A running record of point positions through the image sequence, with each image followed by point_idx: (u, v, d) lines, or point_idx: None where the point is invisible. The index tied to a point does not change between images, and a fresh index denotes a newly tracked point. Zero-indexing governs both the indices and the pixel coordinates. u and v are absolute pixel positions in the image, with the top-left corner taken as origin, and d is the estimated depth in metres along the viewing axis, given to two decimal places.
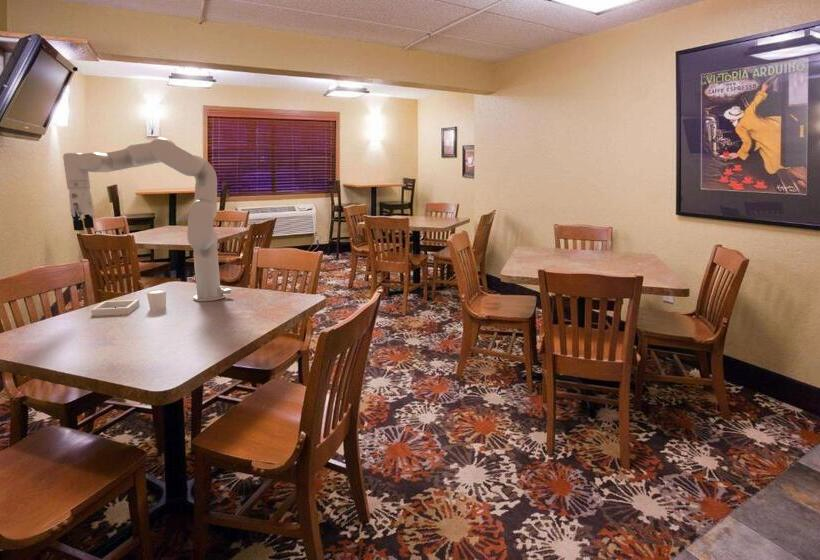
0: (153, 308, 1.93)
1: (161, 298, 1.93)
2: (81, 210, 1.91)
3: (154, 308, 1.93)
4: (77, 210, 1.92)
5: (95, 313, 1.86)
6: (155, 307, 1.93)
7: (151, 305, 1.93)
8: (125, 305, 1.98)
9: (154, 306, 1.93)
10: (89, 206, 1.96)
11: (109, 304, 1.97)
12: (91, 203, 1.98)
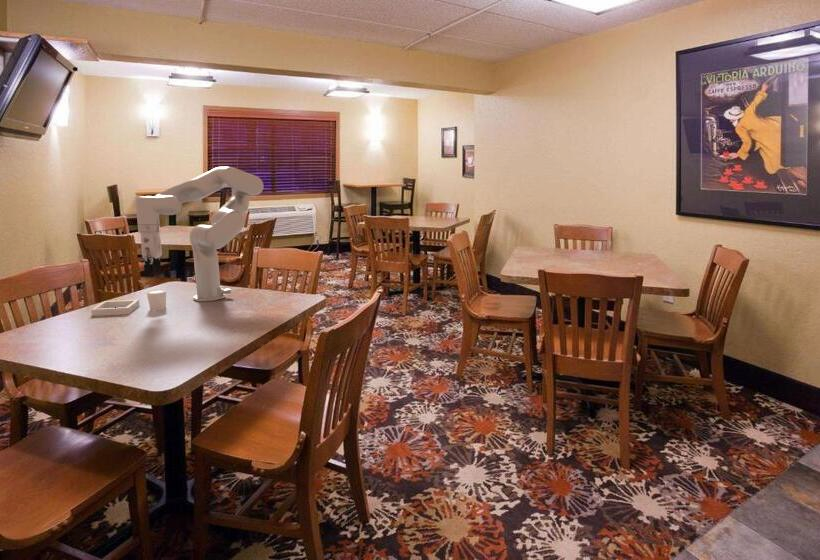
0: (153, 308, 1.93)
1: (161, 298, 1.93)
2: (152, 254, 1.87)
3: (154, 308, 1.93)
4: (148, 254, 1.88)
5: (95, 313, 1.86)
6: (155, 307, 1.93)
7: (151, 305, 1.93)
8: (125, 305, 1.98)
9: (154, 306, 1.93)
10: (159, 249, 1.92)
11: (109, 304, 1.97)
12: (160, 246, 1.94)
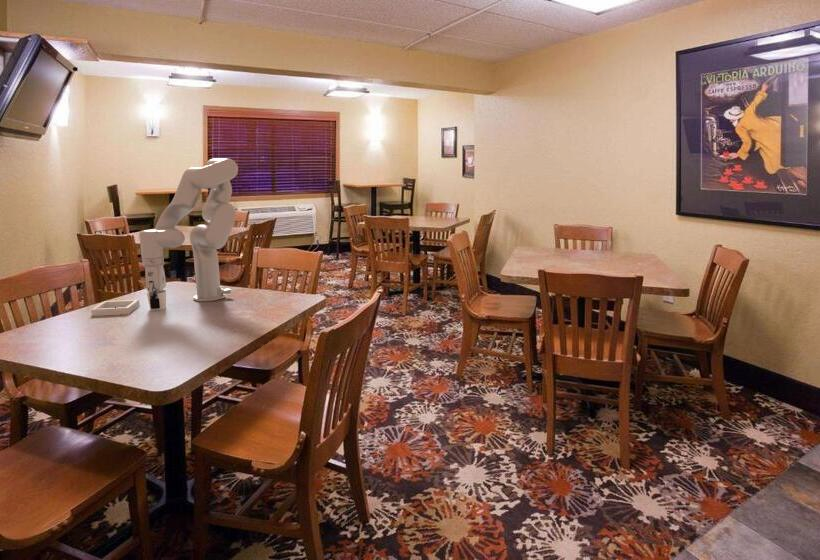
0: None
1: (161, 298, 1.93)
2: (157, 287, 1.90)
3: None
4: None
5: (95, 313, 1.86)
6: None
7: None
8: (125, 305, 1.98)
9: None
10: (163, 281, 1.95)
11: (109, 304, 1.97)
12: (164, 278, 1.97)
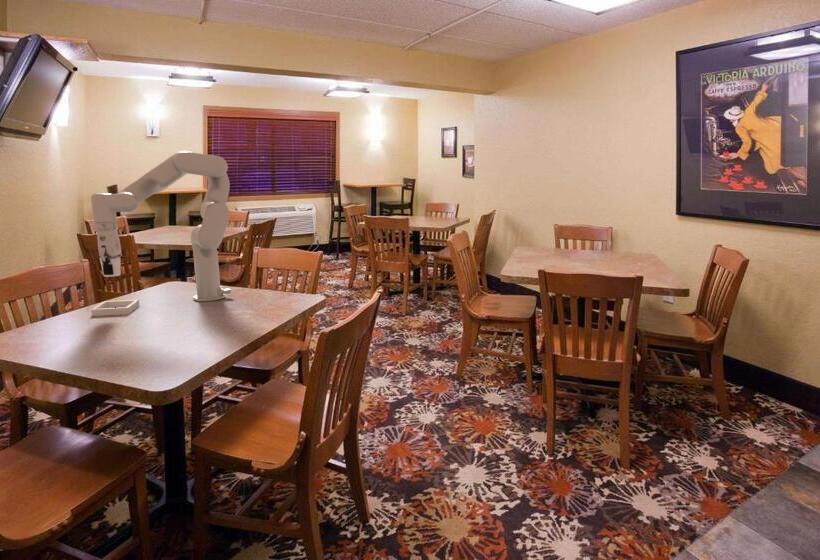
0: None
1: (115, 264, 1.87)
2: (109, 252, 1.84)
3: None
4: None
5: (95, 313, 1.86)
6: None
7: None
8: (125, 305, 1.98)
9: None
10: (117, 247, 1.89)
11: (109, 304, 1.97)
12: (119, 244, 1.91)
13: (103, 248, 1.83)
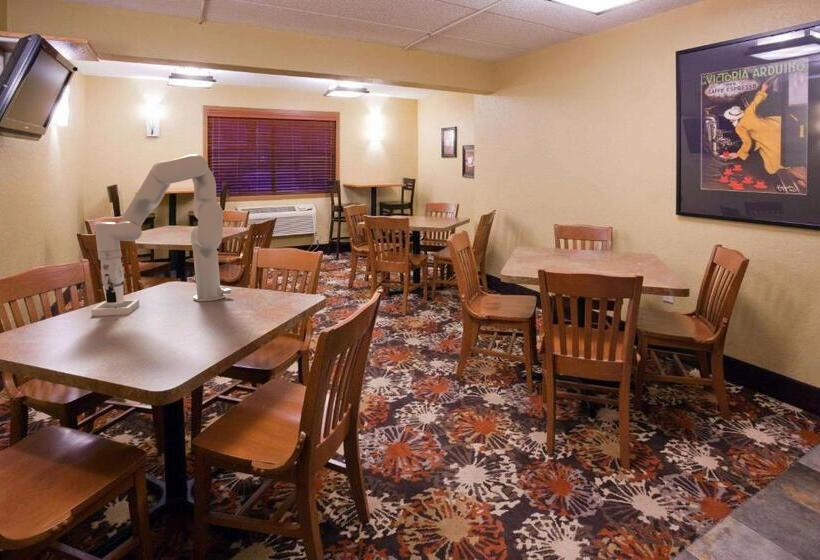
0: None
1: (118, 292, 1.90)
2: (113, 281, 1.86)
3: None
4: (108, 280, 1.87)
5: (95, 313, 1.86)
6: None
7: None
8: (125, 305, 1.98)
9: None
10: (120, 275, 1.91)
11: (109, 304, 1.97)
12: (122, 271, 1.93)
13: (106, 277, 1.85)
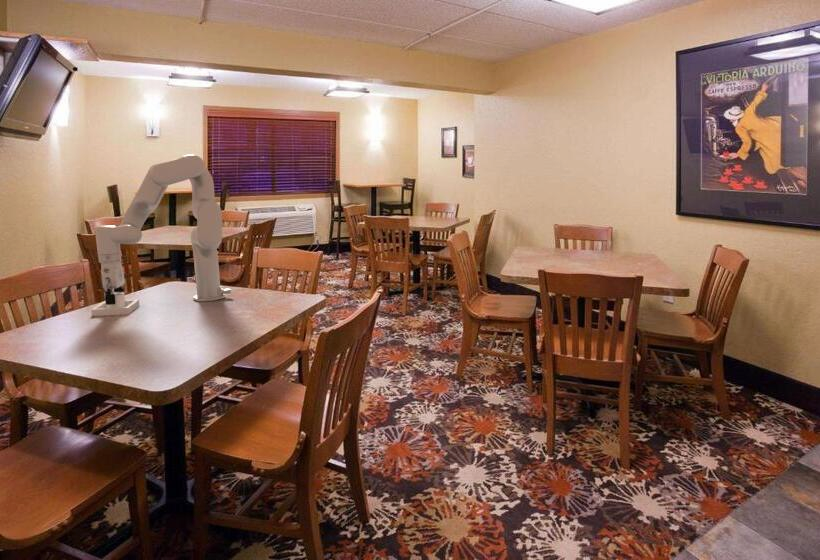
0: None
1: (119, 300, 1.90)
2: (113, 284, 1.86)
3: None
4: (109, 284, 1.87)
5: (95, 313, 1.86)
6: None
7: (109, 307, 1.89)
8: (125, 305, 1.98)
9: None
10: (120, 278, 1.91)
11: None
12: (122, 274, 1.93)
13: None
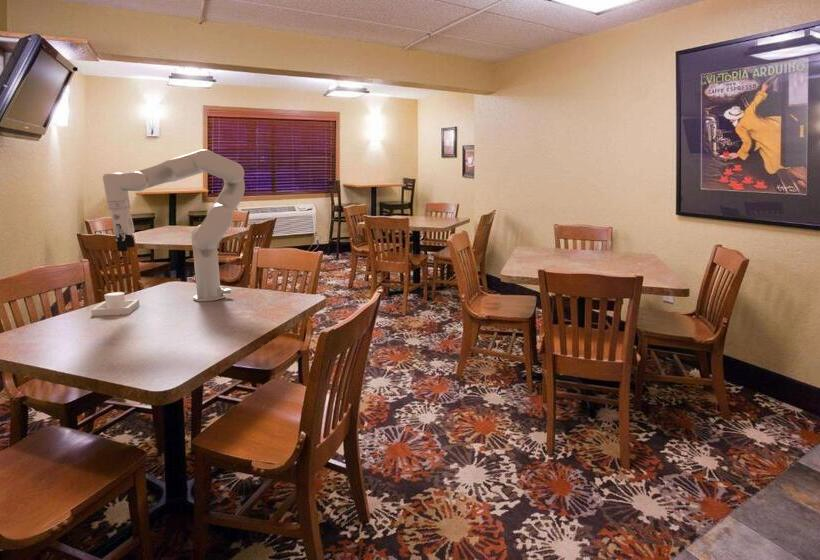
0: None
1: (119, 300, 1.90)
2: (124, 231, 1.89)
3: None
4: (120, 231, 1.90)
5: (95, 313, 1.86)
6: None
7: (109, 307, 1.89)
8: (125, 305, 1.98)
9: None
10: (130, 226, 1.94)
11: None
12: (132, 222, 1.96)
13: None
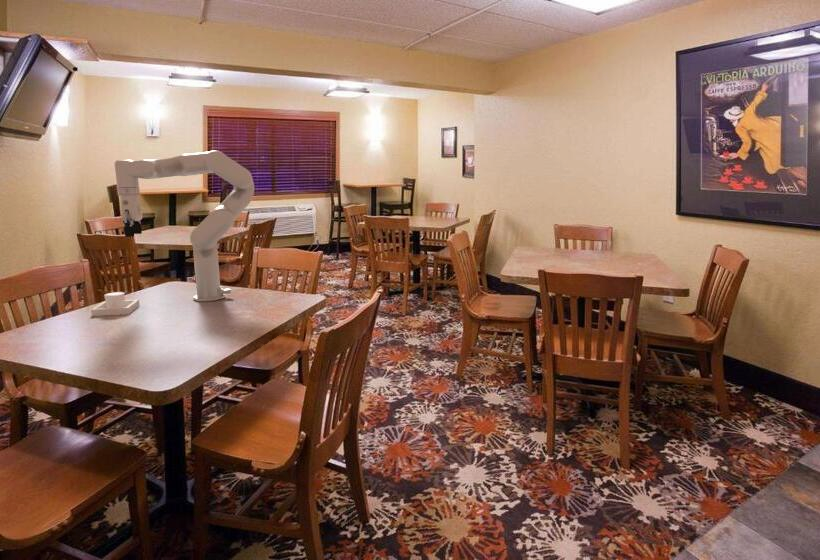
0: None
1: (119, 300, 1.90)
2: (132, 216, 1.92)
3: None
4: (128, 216, 1.94)
5: (95, 313, 1.86)
6: None
7: (109, 307, 1.89)
8: (125, 305, 1.98)
9: None
10: (139, 212, 1.97)
11: None
12: (140, 209, 1.99)
13: None
